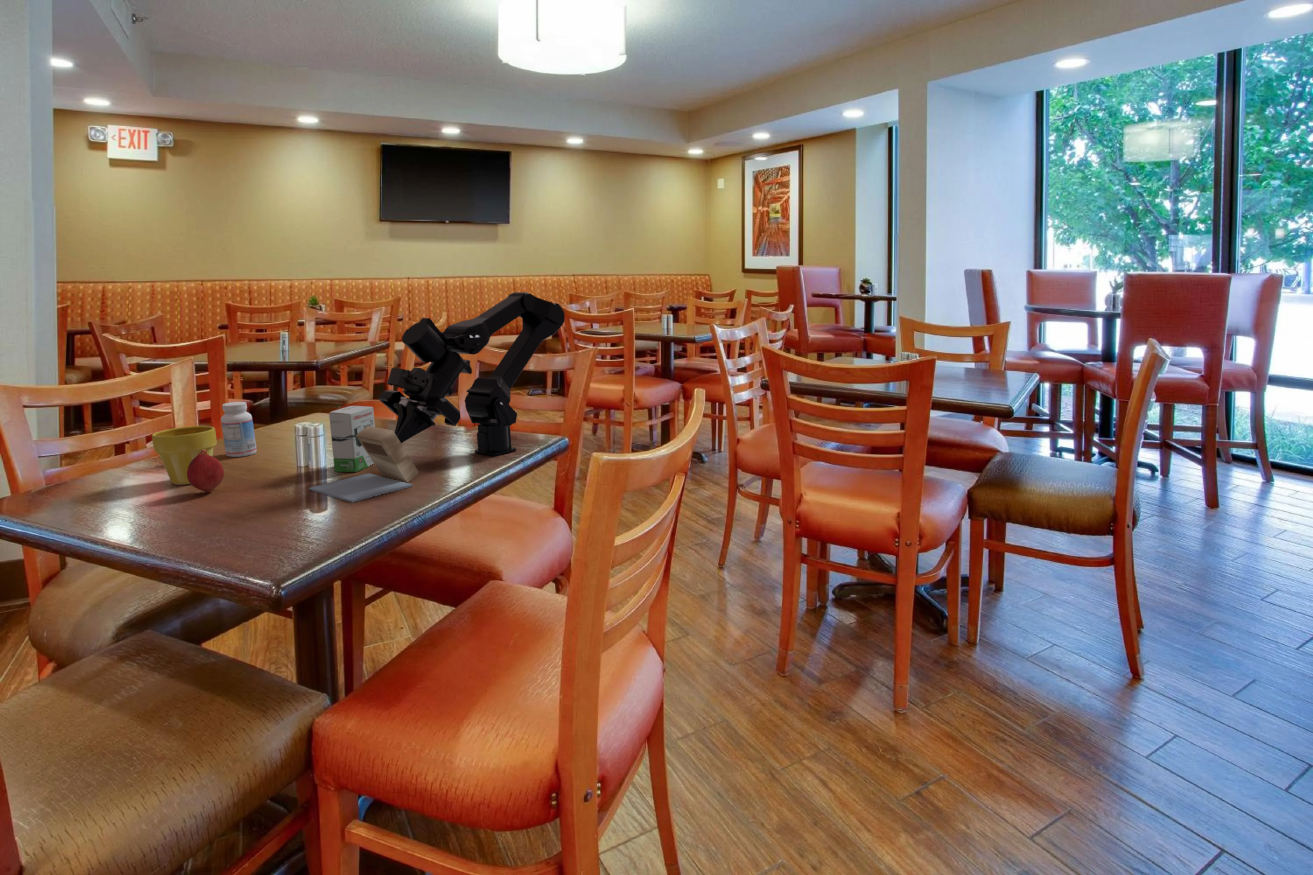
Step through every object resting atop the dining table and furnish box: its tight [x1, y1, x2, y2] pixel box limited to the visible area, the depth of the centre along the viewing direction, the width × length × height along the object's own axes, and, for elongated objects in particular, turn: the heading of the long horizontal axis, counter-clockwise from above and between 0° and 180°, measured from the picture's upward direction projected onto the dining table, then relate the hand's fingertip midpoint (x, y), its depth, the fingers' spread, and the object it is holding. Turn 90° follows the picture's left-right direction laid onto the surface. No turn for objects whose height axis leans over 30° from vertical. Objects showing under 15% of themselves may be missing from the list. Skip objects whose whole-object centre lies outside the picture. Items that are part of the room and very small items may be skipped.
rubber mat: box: [309, 472, 413, 503], centre depth 146 cm, size 12×14×1 cm
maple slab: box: [356, 426, 419, 483], centre depth 149 cm, size 3×8×10 cm
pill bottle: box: [220, 401, 258, 458], centre depth 173 cm, size 6×6×11 cm
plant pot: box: [151, 425, 218, 486], centre depth 153 cm, size 10×10×10 cm
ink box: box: [328, 405, 376, 473], centre depth 160 cm, size 9×5×12 cm, turn 168°
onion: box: [187, 449, 225, 494], centre depth 144 cm, size 6×6×8 cm
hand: (394, 443), depth 150 cm, fingers closed
